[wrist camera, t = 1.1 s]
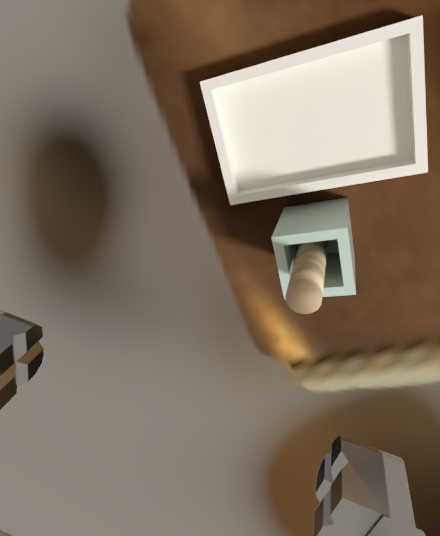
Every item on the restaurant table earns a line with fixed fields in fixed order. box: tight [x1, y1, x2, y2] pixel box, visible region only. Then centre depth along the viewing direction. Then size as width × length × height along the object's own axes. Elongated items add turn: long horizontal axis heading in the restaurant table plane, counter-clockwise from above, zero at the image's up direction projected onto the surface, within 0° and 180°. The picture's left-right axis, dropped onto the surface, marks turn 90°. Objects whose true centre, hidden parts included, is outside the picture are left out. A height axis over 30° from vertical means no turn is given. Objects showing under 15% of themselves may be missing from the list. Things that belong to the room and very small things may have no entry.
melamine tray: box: [200, 15, 428, 205], centre depth 39 cm, size 20×13×2 cm, turn 106°
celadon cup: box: [271, 197, 356, 299], centre depth 41 cm, size 7×7×9 cm
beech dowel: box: [285, 240, 328, 314], centre depth 38 cm, size 3×3×14 cm
